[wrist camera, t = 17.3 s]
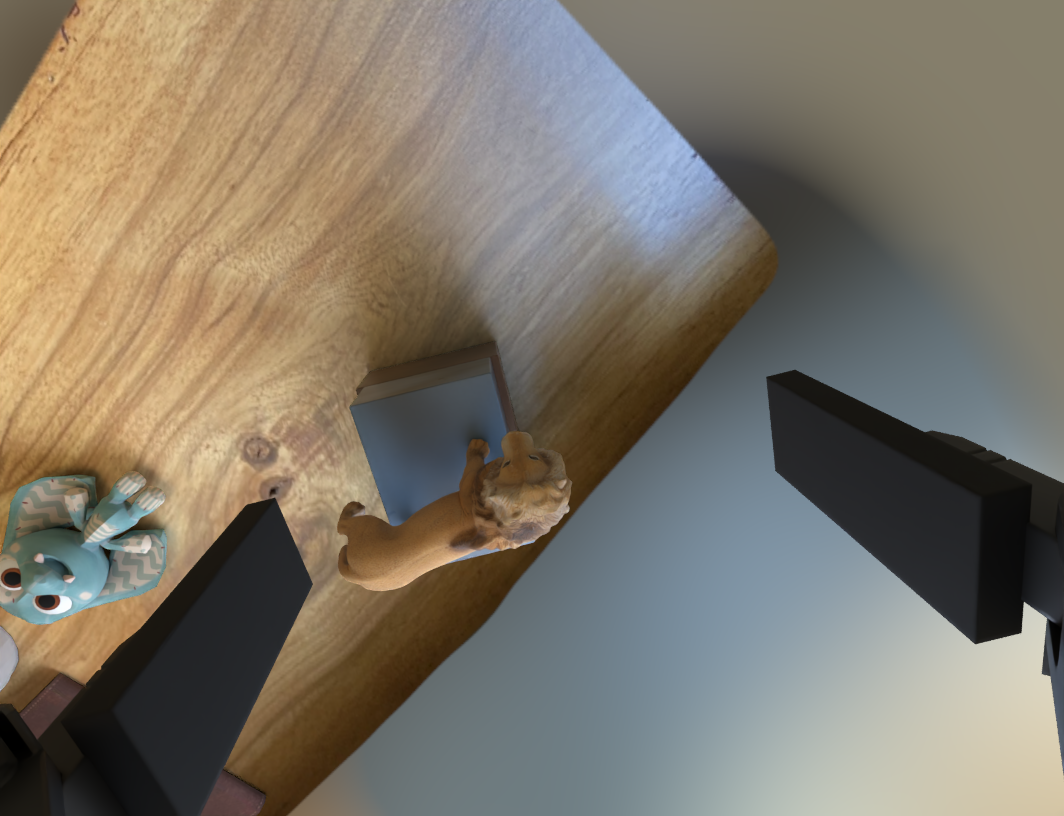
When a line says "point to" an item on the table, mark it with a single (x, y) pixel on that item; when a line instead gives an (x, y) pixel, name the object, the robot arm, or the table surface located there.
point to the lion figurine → (460, 516)
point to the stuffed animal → (78, 547)
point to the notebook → (230, 798)
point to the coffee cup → (7, 657)
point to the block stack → (431, 425)
